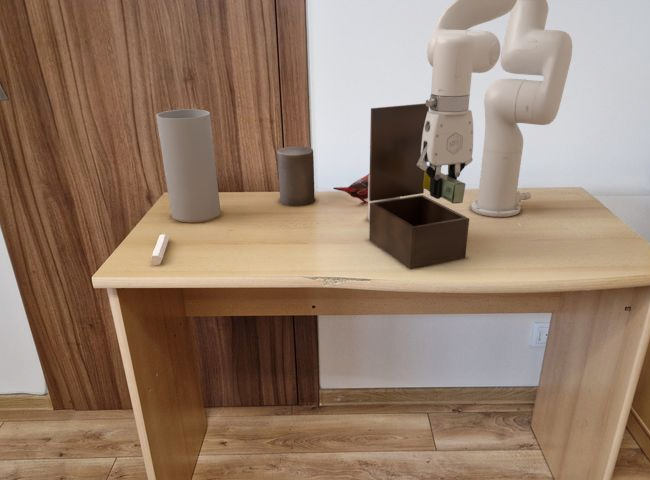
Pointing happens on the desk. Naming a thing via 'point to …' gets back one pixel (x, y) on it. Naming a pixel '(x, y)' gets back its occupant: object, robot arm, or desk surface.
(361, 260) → the desk surface
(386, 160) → the lid
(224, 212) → the desk surface
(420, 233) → the chest
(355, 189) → the decorative bird figurine
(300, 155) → the pillar candle
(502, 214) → the robot arm
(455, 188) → the medication box
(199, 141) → the cylinder vase
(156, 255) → the white rectangular bar
